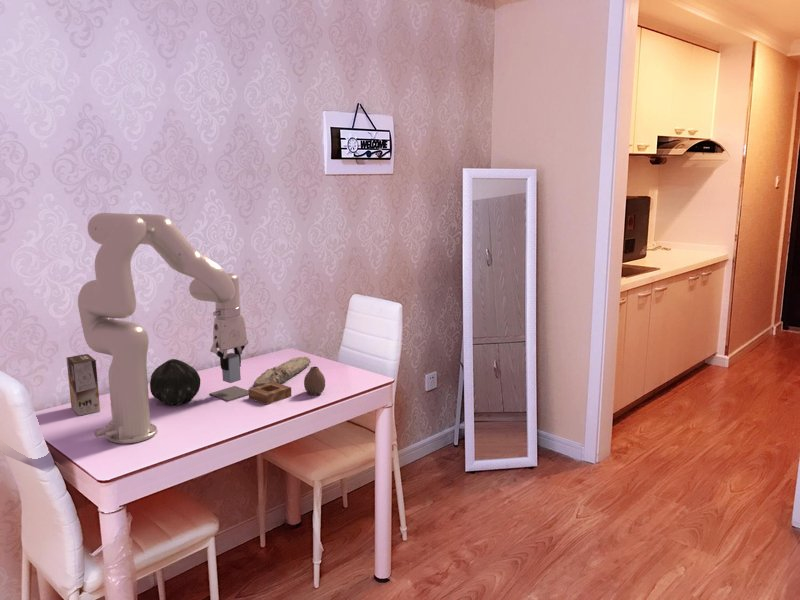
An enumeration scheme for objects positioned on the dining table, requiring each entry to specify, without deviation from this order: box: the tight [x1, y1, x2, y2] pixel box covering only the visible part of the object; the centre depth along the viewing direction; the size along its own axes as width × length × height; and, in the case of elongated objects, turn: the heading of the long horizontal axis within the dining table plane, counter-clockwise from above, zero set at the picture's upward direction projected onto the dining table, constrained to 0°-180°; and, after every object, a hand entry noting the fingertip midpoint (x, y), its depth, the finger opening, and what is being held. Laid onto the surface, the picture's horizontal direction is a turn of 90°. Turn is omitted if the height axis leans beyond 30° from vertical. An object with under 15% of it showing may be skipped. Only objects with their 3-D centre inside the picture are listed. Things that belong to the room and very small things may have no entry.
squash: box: [149, 358, 201, 406], centre depth 202 cm, size 14×15×15 cm
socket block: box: [247, 382, 292, 405], centre depth 207 cm, size 10×9×3 cm
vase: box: [303, 366, 326, 396], centre depth 211 cm, size 7×7×9 cm
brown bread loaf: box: [253, 356, 312, 387], centre depth 229 cm, size 35×5×10 cm
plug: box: [221, 352, 242, 384], centre depth 209 cm, size 4×4×8 cm
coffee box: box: [66, 353, 101, 417], centre depth 194 cm, size 9×6×16 cm
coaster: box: [208, 385, 249, 402], centre depth 210 cm, size 10×10×1 cm
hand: (230, 367), depth 209 cm, fingers closed on plug, 4 cm apart
